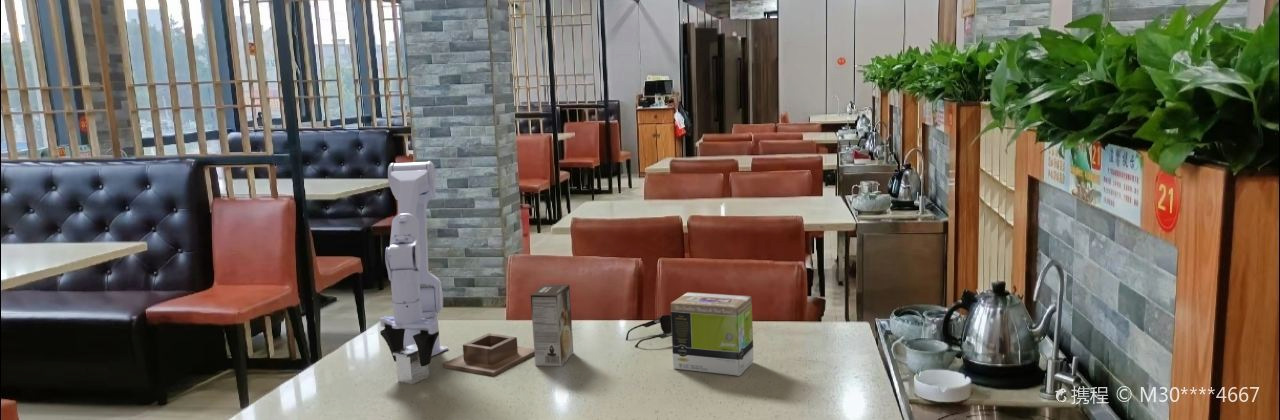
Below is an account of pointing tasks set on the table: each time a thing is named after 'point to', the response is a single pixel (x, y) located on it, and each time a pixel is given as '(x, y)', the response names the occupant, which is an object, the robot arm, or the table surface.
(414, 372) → the pale gray rectangular block
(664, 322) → the sunglasses
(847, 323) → the table surface
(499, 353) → the walnut holder
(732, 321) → the tea box
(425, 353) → the robot arm
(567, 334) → the coffee box
